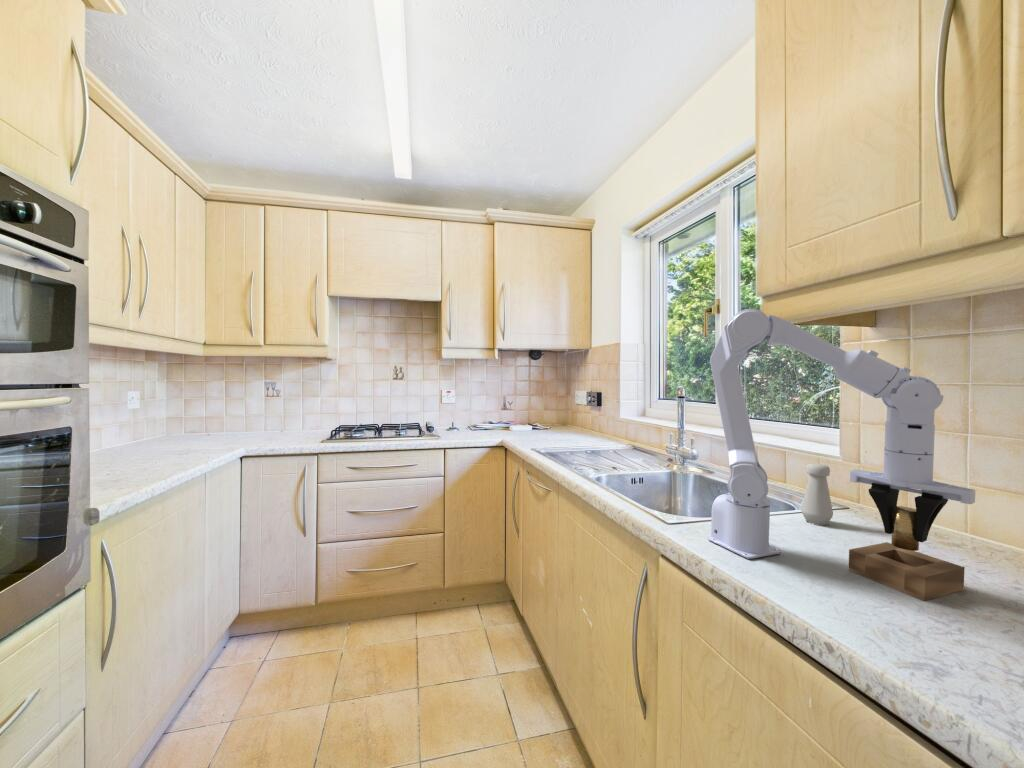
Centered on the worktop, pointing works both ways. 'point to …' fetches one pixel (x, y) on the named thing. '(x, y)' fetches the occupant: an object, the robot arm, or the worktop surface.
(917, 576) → the hole block
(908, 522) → the bronze pin
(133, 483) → the worktop surface
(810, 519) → the salt shaker
